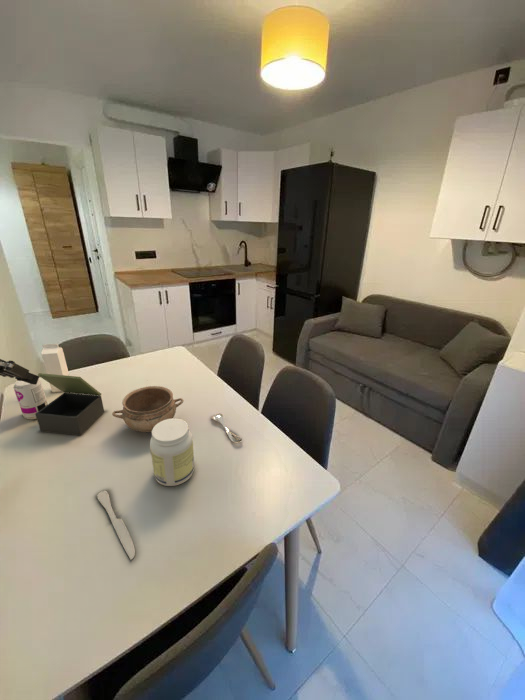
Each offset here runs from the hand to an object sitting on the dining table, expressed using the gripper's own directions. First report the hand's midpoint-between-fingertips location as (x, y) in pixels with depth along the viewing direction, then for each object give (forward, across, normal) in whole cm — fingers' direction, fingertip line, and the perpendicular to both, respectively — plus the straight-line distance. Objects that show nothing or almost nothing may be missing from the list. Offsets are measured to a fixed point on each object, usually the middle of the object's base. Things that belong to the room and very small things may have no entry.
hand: (35, 380), depth 92 cm
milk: (+39, -21, +5) cm, 45 cm away
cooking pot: (+26, +30, -8) cm, 41 cm away
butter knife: (-1, +38, -36) cm, 52 cm away
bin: (+25, 0, -10) cm, 26 cm away
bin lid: (+16, 0, +2) cm, 16 cm away
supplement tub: (+11, +47, -23) cm, 53 cm away
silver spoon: (+27, +59, -7) cm, 65 cm away
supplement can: (+26, -17, -8) cm, 32 cm away
